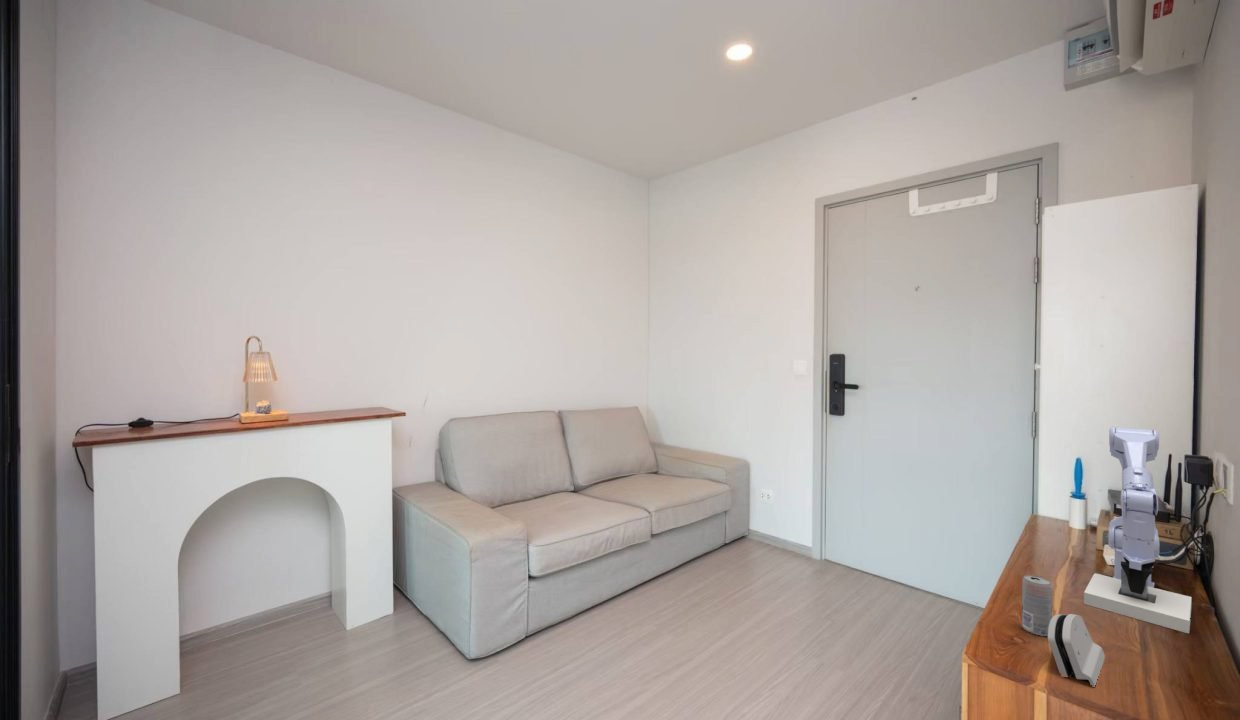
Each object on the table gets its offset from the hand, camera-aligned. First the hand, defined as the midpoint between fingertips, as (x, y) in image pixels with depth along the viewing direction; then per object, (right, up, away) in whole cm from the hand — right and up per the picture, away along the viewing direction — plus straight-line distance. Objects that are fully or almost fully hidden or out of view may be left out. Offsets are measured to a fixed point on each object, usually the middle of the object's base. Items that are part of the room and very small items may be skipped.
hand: (1137, 589), depth 128 cm
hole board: (0, -4, 0) cm, 4 cm away
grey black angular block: (-38, -5, -24) cm, 45 cm away
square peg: (0, -3, 0) cm, 3 cm away
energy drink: (-36, -4, -12) cm, 38 cm away
